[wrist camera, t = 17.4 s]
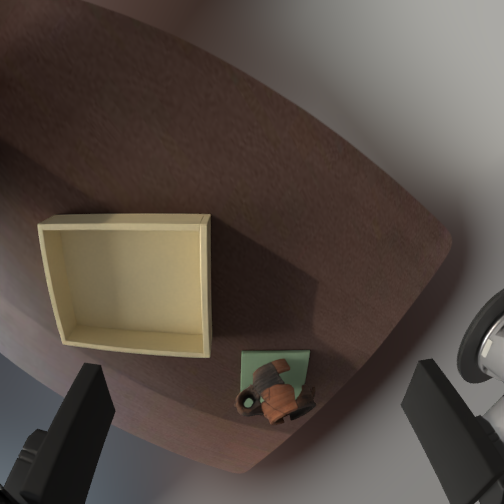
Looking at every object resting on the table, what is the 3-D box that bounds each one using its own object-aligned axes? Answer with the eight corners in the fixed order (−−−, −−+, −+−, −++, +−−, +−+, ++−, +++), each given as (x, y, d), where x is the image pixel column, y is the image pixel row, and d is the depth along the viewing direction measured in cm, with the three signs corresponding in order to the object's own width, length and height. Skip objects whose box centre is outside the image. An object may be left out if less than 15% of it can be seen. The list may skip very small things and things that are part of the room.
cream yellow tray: (210, 214, 39) (207, 224, 34) (212, 337, 44) (210, 358, 40) (55, 214, 37) (37, 224, 33) (75, 327, 43) (62, 344, 39)
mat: (309, 349, 46) (310, 352, 45) (299, 404, 50) (300, 406, 49) (241, 350, 45) (241, 352, 45) (240, 405, 49) (240, 408, 49)
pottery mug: (302, 347, 45) (326, 395, 40) (295, 372, 52) (315, 413, 47) (223, 373, 43) (243, 426, 37) (228, 394, 50) (245, 438, 44)
